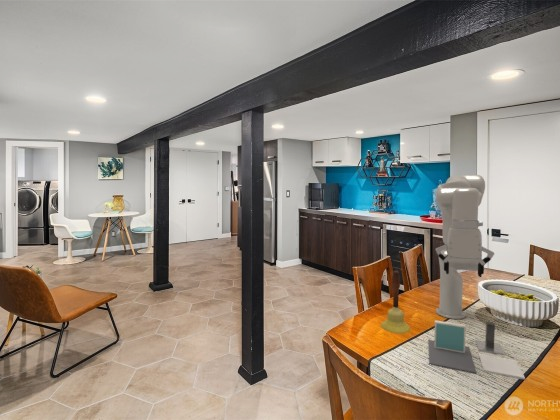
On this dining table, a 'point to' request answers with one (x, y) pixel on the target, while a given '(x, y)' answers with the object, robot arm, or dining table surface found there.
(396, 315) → the handbell
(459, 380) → the dining table surface
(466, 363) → the tile mat
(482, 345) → the post on square base
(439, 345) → the tile
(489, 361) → the pad
